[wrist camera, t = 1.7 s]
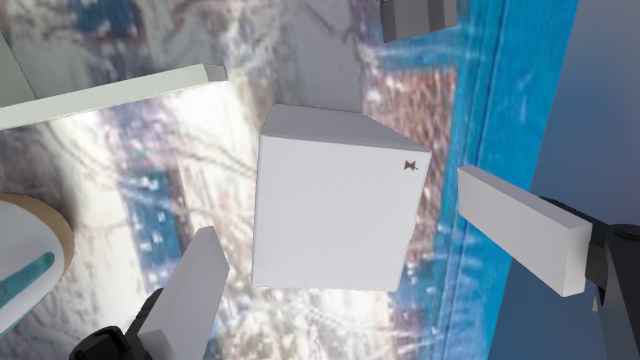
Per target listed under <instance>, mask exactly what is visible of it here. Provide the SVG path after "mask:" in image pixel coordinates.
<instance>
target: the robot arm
mask: <svg viewBox="0 0 640 360" xmlns="http://www.w3.org/2000/svg"><path fill="white" fill-rule="evenodd" d="M457 169H458V189H459V210H460V214H461V215H462V216H463V217H464V218H466V219H467V220H468V221H469V222H471V223H472V224H473V225H474V226H476V227H477V228H478V229H479V230H481V231H482V232H483V233H484V234H485V235H487V236H488V237H489V238H490V239H492V240H493V241H494V242H495V243H497V244H498V245H499V246H500V247H502V248H503V249H504V250H505V251H507V252H508V253H509V254H510V255H511V256H513V257H514V258H515V259H516V260H518V261H519V262H520V263H522V264H523V265H524V266H525V267H526V268H528V269H529V270H530V271H531V272H533V273H534V274H535V275H536V276H537V277H539V278H540V279H541V280H543V281H544V282H545V283H546V284H547V285H549V286H550V287H551V288H552V289H554V290H555V291H556V292H557V293H559V294H560V295H561V296H562V297H565V296H569V295H573V294H577V293H581V292H584V285H585V278H588V279H589V280H591V281H592V282H594V283H595V284H596V290H595V298H594V304H593V311H597V310H598V312H599V317H600V322H601V327H602V333H603V338H604V344H605V349H606V354H607V359H608V360H640V226H637V225H630V224H614V225H608V224H606V223H604V222H601V221H599V220H597V219H595V218H593V217H591V216H588V215H586V214H584V213H582V212H580V211H577V210H576V209H574V208H571V207H567V205H565V204H563V203H561V202H558V201H556V200H553V199H549V198H545V197H541V196H540V197H537V196H535V195H533V194H530V193H529V192H526V191H524V190H522V189H520V188H518V187H516V186H514V185H512V184H510V183H508V182H506V181H504V180H502V179H500V178H498V177H496V176H494V175H492V174H490V173H488V172H486V171H484V170H481V169H479V168H477V167H475V166H473V165H468V166H463V167H459V168H457ZM229 269H230V268H229V266H228V263H227V261H226V258H225V255H224V253H223V250H222V248H221V245H220V242H219V240H218V237H217V235H216V232H215V229H214V227H213V226H209V227H205V228H200V229H198V231H197V232H196V234H195V236H194V238H193V239H192V241H191V243H190V244H189V246H188V248H187V250H186V251H185V253H184V255H183V256H182V258H181V260H180V262H179V263H178V265H177V267H176V268H175V270H174V272H173V274H172V275H171V277H170V279H169V281H168V282H167V284H166V286H165V287H164V288H160V289H157V290H156V291H155V292H154V293H153V294H152V295H151V296H150V297H149V298H148V299H147V300H146V302H145V303H144V305H143V306H142V308H141V311H139V313H138V314H137V316H136V317H135V318H136V319H135V320H134V321H133V322H132V324H131V325H130V327H129V329H128V330H127V332H126V333H125V335H123V333H122V331H121V329H120V328H119V327H117V326H108V327H105V328H102V329H100V330H98V331H96V332H94V333H92V334H91V335H89V336H88V337H86V338H85V339H84V340H82V341H81V342H80V343H79V344H78V345H77V346H76V347H75V348H74V350H73V351H72V353H71V354H70V357H69V360H202V359H203V356H204V352H205V349H206V346H207V342H208V339H209V336H210V332H211V329H212V326H213V323H214V319H215V316H216V313H217V309H218V306H219V303H220V299H221V296H222V293H223V289H224V286H225V283H226V279H227V276H228V273H229Z"/></svg>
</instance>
